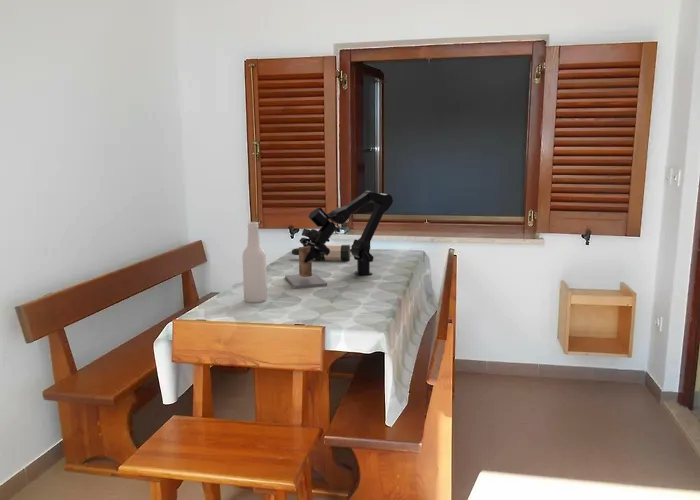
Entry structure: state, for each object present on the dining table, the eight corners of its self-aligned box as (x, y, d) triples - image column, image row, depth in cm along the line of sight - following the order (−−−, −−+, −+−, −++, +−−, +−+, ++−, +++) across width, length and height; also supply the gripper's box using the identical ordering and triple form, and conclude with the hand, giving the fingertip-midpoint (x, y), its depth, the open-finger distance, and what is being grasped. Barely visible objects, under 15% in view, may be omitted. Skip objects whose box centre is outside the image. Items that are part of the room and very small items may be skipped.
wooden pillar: (307, 274, 249) (306, 246, 247) (311, 276, 246) (311, 247, 244) (299, 275, 247) (298, 247, 245) (303, 277, 244) (302, 248, 242)
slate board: (327, 285, 240) (327, 283, 240) (294, 288, 236) (294, 285, 236) (315, 275, 259) (315, 273, 258) (285, 278, 255) (285, 275, 254)
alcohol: (245, 304, 213) (242, 224, 207) (243, 298, 221) (240, 221, 216) (268, 302, 215) (266, 223, 210) (265, 296, 224) (263, 220, 218)
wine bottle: (350, 241, 294) (292, 240, 297) (348, 250, 287) (289, 249, 290) (350, 255, 299) (294, 254, 302) (349, 264, 292) (291, 262, 295)
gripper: (302, 219, 252) (280, 246, 249) (323, 224, 237) (300, 253, 233) (318, 235, 258) (297, 261, 254) (339, 241, 242) (317, 269, 239)
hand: (302, 261), depth 245 cm, fingers closed on wooden pillar, 4 cm apart
